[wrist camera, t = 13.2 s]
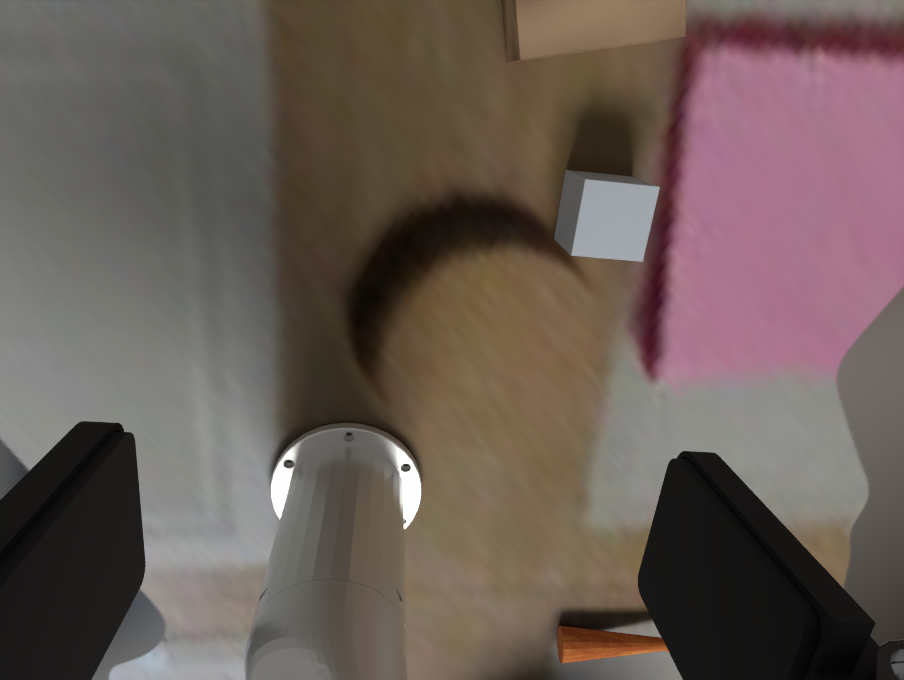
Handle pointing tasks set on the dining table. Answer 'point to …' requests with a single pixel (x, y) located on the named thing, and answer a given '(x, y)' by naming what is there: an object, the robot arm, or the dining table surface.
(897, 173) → the dining table surface
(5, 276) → the dining table surface
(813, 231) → the dining table surface
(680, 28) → the walnut base block
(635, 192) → the slate block
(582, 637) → the purple and orange maraca
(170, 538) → the dining table surface
